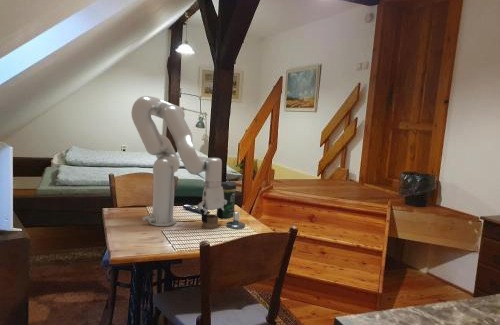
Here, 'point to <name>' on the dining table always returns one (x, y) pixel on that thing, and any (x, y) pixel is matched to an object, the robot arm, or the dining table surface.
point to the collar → (211, 222)
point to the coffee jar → (228, 198)
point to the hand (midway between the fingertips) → (212, 220)
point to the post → (235, 222)
